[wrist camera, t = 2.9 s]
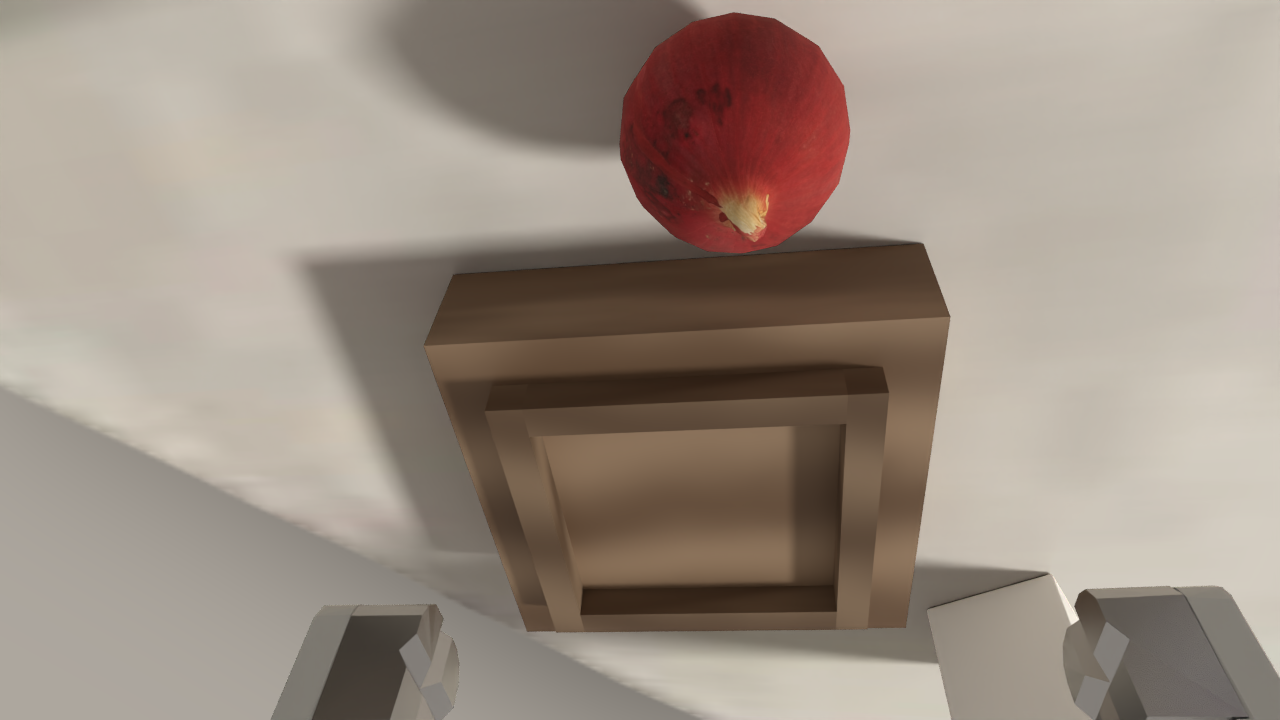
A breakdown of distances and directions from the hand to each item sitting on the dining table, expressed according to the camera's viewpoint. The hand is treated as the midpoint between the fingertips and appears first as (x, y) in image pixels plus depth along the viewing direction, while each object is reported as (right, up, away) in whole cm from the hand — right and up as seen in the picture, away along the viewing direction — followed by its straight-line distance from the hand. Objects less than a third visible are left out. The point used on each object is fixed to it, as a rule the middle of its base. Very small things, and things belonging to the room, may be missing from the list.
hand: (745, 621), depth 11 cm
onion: (+1, +12, +14) cm, 18 cm away
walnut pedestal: (+1, +1, +23) cm, 23 cm away
